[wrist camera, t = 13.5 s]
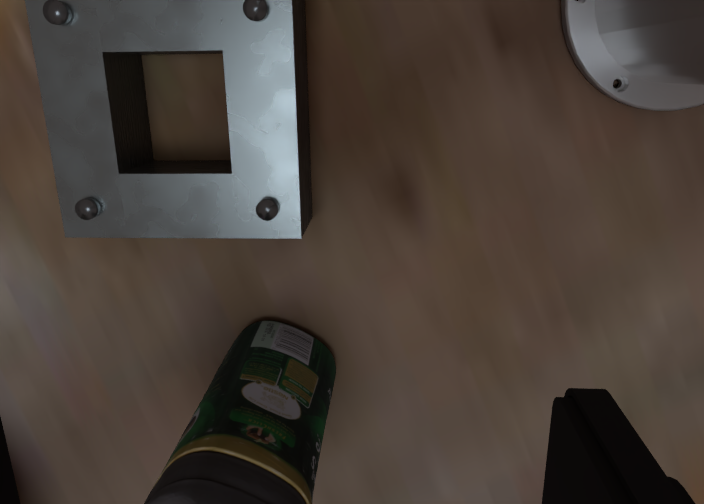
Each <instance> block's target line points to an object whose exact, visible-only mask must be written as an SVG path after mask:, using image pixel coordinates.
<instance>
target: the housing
mask: <svg viewBox="0 0 704 504" xmlns="http://www.w3.org/2000/svg"><path fill="white" fill-rule="evenodd" d="M25 3H26V9H27V15H28V21H29V27H30V33H31V38H32V44H33V50H34V56H35V62H36V68H37V74H38V79H39V85H40V91H41V97H42V103H43V109H44V115H45V121H46V126H47V132H48V138H49V144H50V150H51V156H52V162H53V167H54V173H55V179H56V185H57V191H58V197H59V203H60V209H61V214H62V220H63V226H64V232H65V237H96V238H282V239H301V238H302V236H303V234H304V233H305V231H306V229H307V227H308V225H309V223H310V221H311V219H312V192H311V163H310V133H309V104H308V74H307V44H306V15H305V0H25ZM219 53H223V61H224V74H225V87H226V100H227V113H228V126H229V140H230V153H231V160H204V161H153V153H152V145H151V136H150V128H149V119H148V110H147V102H146V93H145V85H144V76H143V68H142V59H141V55H151V54H219Z"/></svg>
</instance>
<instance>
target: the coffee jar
mask: <svg viewBox="0 0 704 504" xmlns="http://www.w3.org/2000/svg"><path fill="white" fill-rule="evenodd" d="M335 374H336V366H335V361H334V358H333V356H332V354H331V352H330V351H329V350H328V348H327V347H326V346H325V345H324V344H322V343H321V342H320V341H319V340H317V339H316V338H314V337H313V336H311V335H309V334H308V333H306V332H304V331H302V330H300V329H298V328H296V327H293V326H290V325H288V324H285V323H281V322H277V321H270V320H269V321H259V322H256V323H254V324H251V325H250V326H248V327H247V328H245V329H244V330H243V331H242V332H241V333H240V335H239V336H238V338H237V339H236V340H235V342H234V343H233V345H232V347H231V348H230V350H229V351H228V353H227V355H226V357H225V358H224V360H223V362H222V364H221V365H220V367H219V369H218V371H217V373H216V374H215V376H214V378H213V380H212V382H211V384H210V386H209V388H208V390H207V392H206V394H205V395H204V397H203V399H202V401H201V402H200V404H199V406H198V408H197V410H196V411H195V413H194V415H193V417H192V419H191V420H190V422H189V424H188V426H187V428H186V429H185V431H184V433H183V435H182V437H181V439H180V440H179V442H178V444H177V446H176V448H175V450H174V451H173V453H172V455H171V457H170V459H169V461H168V462H167V464H166V466H165V468H164V470H163V471H162V473H161V475H160V477H159V479H158V480H157V482H156V484H155V485H154V487H153V489H152V490H151V492H150V494H149V496H148V497H147V499H146V501H145V503H144V504H312V499H313V491H314V484H315V479H316V472H317V467H318V461H319V456H320V450H321V445H322V439H323V434H324V429H325V424H326V419H327V414H328V410H329V405H330V400H331V395H332V391H333V385H334V380H335Z"/></svg>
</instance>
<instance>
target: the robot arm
mask: <svg viewBox="0 0 704 504" xmlns="http://www.w3.org/2000/svg"><path fill="white" fill-rule="evenodd" d="M561 14H562V27H563V31H564V36H565V40H566V44H567V47H568V49H569V51H570V54H571V56H572V58H573V60H574V62H575V64H576V66H577V67H578V68H579V70H580V71H581V72H582V74H583V75H584V76H585V78H586V79H587V80H588V81H589V82H590V83H591V84H592V85H593V86H594V87H596V88H597V89H598V90H599V91H600V92H601V93H603V94H605V95H606V96H608V97H610V98H612V99H614V100H616V101H617V102H619V103H622V104H626V105H629V106H632V107H636V108H640V109H648V110H654V111H673V110H681V109H686V108H691V107H696V106H700V105H702V104H704V0H578V1H575V0H561ZM616 79H617V80H618V81H619V85H618V87H616V88H614V87H613V82H614V80H616ZM0 504H20V500H19V496H18V491H17V487H16V483H15V478H14V474H13V469H12V465H11V461H10V456H9V452H8V447H7V443H6V439H5V434H4V430H3V426H2V421H1V417H0ZM542 504H695V503H694V501H693V500H692V498H691V497H690V496H689V494H688V493H687V491H686V490H685V489H684V487H683V486H682V485H681V484H680V483H679V482H678V481H677V480H676V479H673V478H671V477H667V476H666V475H665V473H664V472H663V470H662V469H661V467H660V466H659V464H658V463H657V461H656V460H655V459H654V457H653V456H652V454H651V453H650V451H649V450H648V448H647V447H646V446H645V444H644V443H643V441H642V440H641V438H640V437H639V435H638V434H637V432H636V431H635V430H634V428H633V427H632V425H631V424H630V422H629V421H628V419H627V418H626V416H625V415H624V414H623V412H622V411H621V409H620V408H619V406H618V405H617V403H616V402H615V400H614V399H613V398H612V396H611V395H610V393H609V392H608V391H607V390H605V389H578V388H569V389H568V390H566V393H565V396H564V397H556V398H555V399H554V401H553V406H552V415H551V424H550V434H549V443H548V452H547V461H546V470H545V480H544V489H543V498H542Z"/></svg>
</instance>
